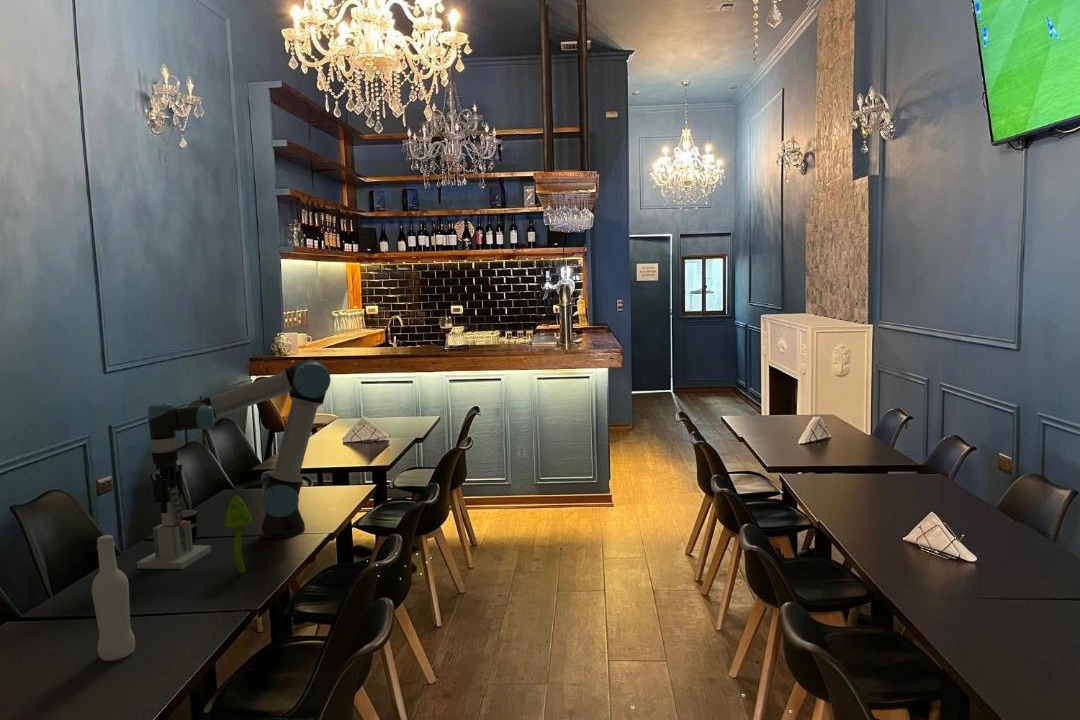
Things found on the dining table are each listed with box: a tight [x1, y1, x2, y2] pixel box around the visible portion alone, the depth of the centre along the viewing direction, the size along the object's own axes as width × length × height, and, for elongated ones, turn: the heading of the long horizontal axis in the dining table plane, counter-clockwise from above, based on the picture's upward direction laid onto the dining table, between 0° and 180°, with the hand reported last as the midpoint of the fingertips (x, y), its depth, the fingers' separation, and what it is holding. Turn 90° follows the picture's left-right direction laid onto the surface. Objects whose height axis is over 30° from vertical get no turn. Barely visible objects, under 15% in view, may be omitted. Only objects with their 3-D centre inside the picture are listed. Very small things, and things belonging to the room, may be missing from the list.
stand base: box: [136, 521, 212, 570], centre depth 256 cm, size 16×16×13 cm
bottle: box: [91, 534, 136, 662], centre depth 189 cm, size 8×8×30 cm
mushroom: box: [223, 494, 254, 574], centre depth 241 cm, size 8×8×25 cm
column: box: [160, 486, 185, 552], centre depth 255 cm, size 5×4×22 cm
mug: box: [180, 509, 198, 543], centre depth 276 cm, size 12×9×10 cm
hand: (171, 519), depth 255 cm, fingers closed on column, 4 cm apart
